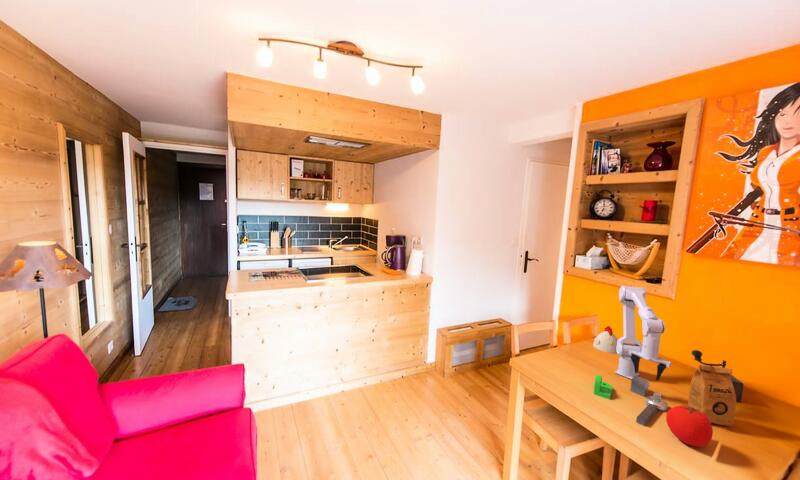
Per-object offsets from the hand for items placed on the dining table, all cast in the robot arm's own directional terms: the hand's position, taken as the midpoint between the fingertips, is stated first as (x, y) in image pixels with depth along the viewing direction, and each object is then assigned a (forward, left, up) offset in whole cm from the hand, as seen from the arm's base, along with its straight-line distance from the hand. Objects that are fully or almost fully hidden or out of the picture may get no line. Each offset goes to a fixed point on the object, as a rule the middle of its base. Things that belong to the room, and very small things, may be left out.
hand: (646, 375), depth 141 cm
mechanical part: (+11, -12, -10) cm, 19 cm away
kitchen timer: (-41, -30, -10) cm, 51 cm away
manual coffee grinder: (-32, +17, -10) cm, 37 cm away
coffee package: (-3, +21, -10) cm, 23 cm away
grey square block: (-3, -3, -10) cm, 10 cm away
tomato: (+21, +18, -10) cm, 30 cm away
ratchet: (+4, +5, -10) cm, 12 cm away
